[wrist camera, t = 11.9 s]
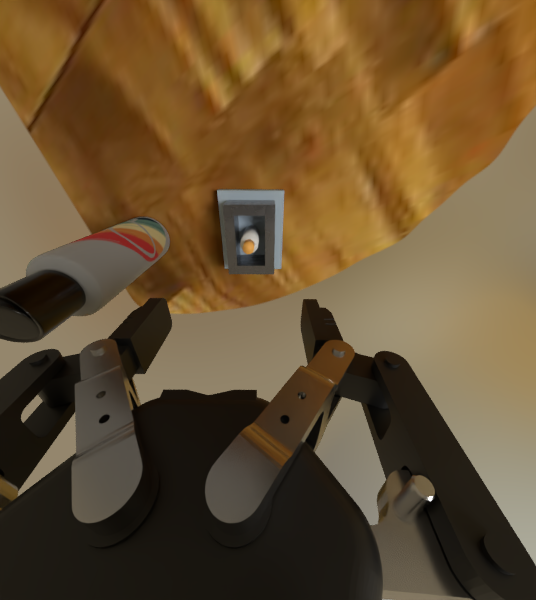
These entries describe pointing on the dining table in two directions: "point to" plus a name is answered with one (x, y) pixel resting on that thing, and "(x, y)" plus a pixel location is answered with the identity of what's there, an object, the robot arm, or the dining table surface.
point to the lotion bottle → (79, 278)
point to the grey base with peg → (254, 223)
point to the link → (231, 223)
